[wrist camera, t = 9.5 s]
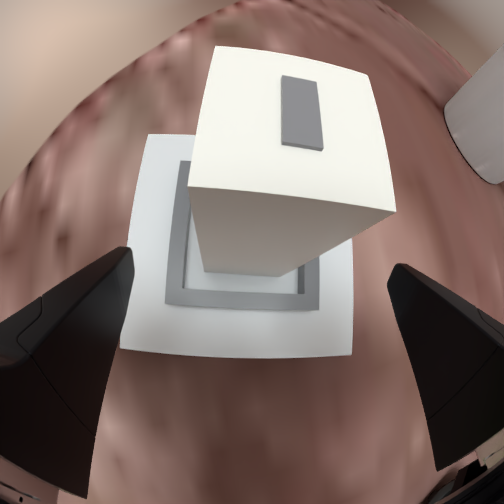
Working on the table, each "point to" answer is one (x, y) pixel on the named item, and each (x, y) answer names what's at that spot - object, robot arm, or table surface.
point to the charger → (284, 162)
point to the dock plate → (222, 282)
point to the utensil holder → (481, 119)
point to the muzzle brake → (441, 493)
